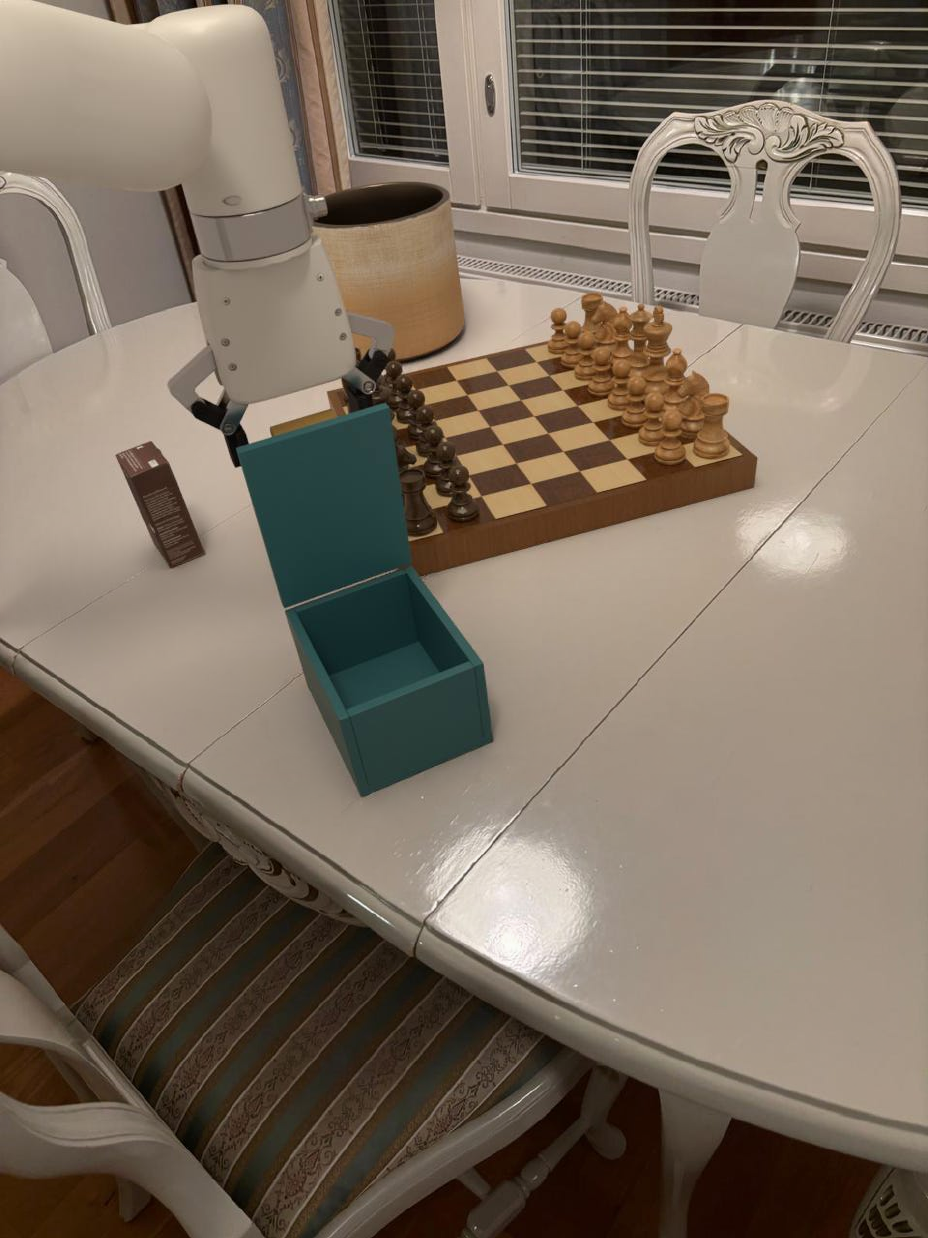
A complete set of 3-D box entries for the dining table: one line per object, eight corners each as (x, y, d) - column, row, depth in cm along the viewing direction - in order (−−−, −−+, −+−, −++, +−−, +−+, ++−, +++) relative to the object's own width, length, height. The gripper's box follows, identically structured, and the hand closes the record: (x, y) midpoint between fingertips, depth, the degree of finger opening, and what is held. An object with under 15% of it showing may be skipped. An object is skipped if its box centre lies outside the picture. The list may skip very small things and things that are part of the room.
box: (151, 546, 100) (113, 453, 92) (189, 531, 102) (154, 438, 94) (167, 571, 96) (129, 475, 88) (206, 555, 97) (172, 459, 90)
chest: (493, 741, 72) (483, 662, 66) (361, 797, 69) (339, 720, 63) (424, 640, 83) (411, 564, 77) (307, 685, 80) (284, 610, 74)
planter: (350, 312, 149) (325, 184, 136) (477, 308, 144) (464, 175, 131) (307, 369, 133) (274, 230, 120) (449, 367, 128) (431, 222, 115)
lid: (389, 406, 66) (365, 377, 69) (238, 452, 63) (221, 420, 66) (412, 563, 76) (390, 531, 80) (284, 608, 73) (267, 574, 77)
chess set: (604, 352, 126) (604, 246, 117) (754, 487, 96) (769, 358, 87) (332, 416, 120) (308, 309, 111) (400, 581, 90) (376, 453, 81)
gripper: (354, 190, 65) (391, 405, 75) (116, 245, 60) (192, 465, 71) (391, 212, 59) (425, 441, 70) (132, 274, 55) (212, 508, 65)
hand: (308, 453), depth 70 cm, fingers open, 9 cm apart
